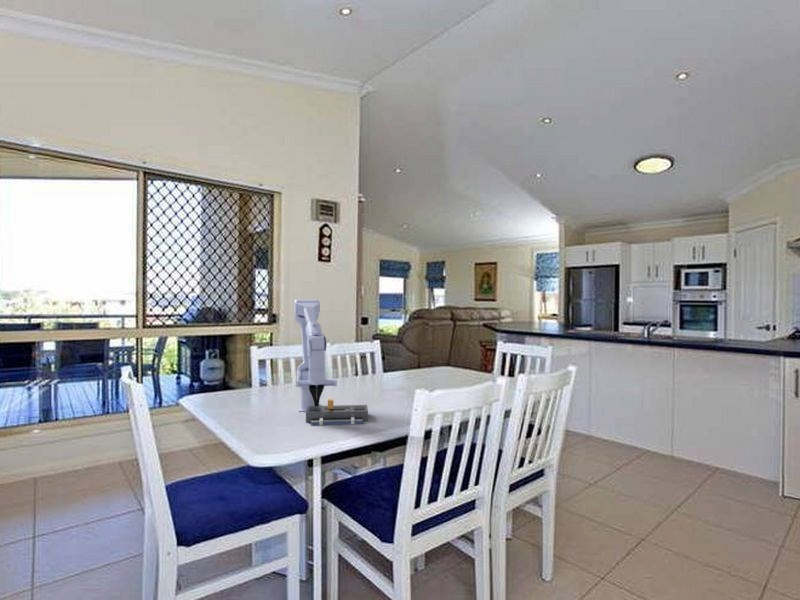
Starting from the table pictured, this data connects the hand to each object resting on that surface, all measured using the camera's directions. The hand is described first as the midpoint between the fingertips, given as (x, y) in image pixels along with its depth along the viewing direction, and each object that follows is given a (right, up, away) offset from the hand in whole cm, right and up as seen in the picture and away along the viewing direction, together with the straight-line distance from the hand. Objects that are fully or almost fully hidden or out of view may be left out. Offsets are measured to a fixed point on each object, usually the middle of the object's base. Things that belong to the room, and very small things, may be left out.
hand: (316, 405), depth 172 cm
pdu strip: (+7, -5, +1) cm, 9 cm away
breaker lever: (+5, -1, +1) cm, 5 cm away
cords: (+8, -5, -5) cm, 11 cm away
